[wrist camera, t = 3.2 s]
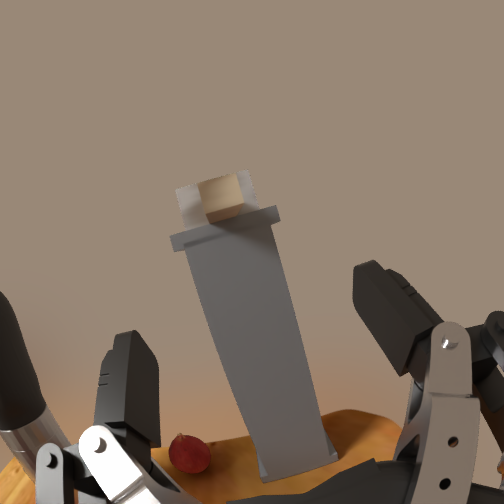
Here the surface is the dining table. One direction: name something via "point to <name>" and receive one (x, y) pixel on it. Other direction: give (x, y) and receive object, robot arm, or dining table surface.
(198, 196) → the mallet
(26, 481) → the dining table surface
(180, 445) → the onion
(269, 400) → the stand
